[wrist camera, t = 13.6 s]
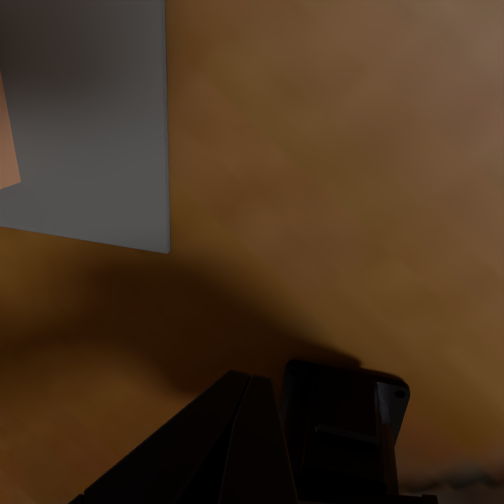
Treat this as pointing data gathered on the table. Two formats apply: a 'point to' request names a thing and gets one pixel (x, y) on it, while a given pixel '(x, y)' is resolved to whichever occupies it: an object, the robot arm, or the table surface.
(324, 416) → the robot arm
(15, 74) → the mat
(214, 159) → the table surface
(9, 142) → the tile
